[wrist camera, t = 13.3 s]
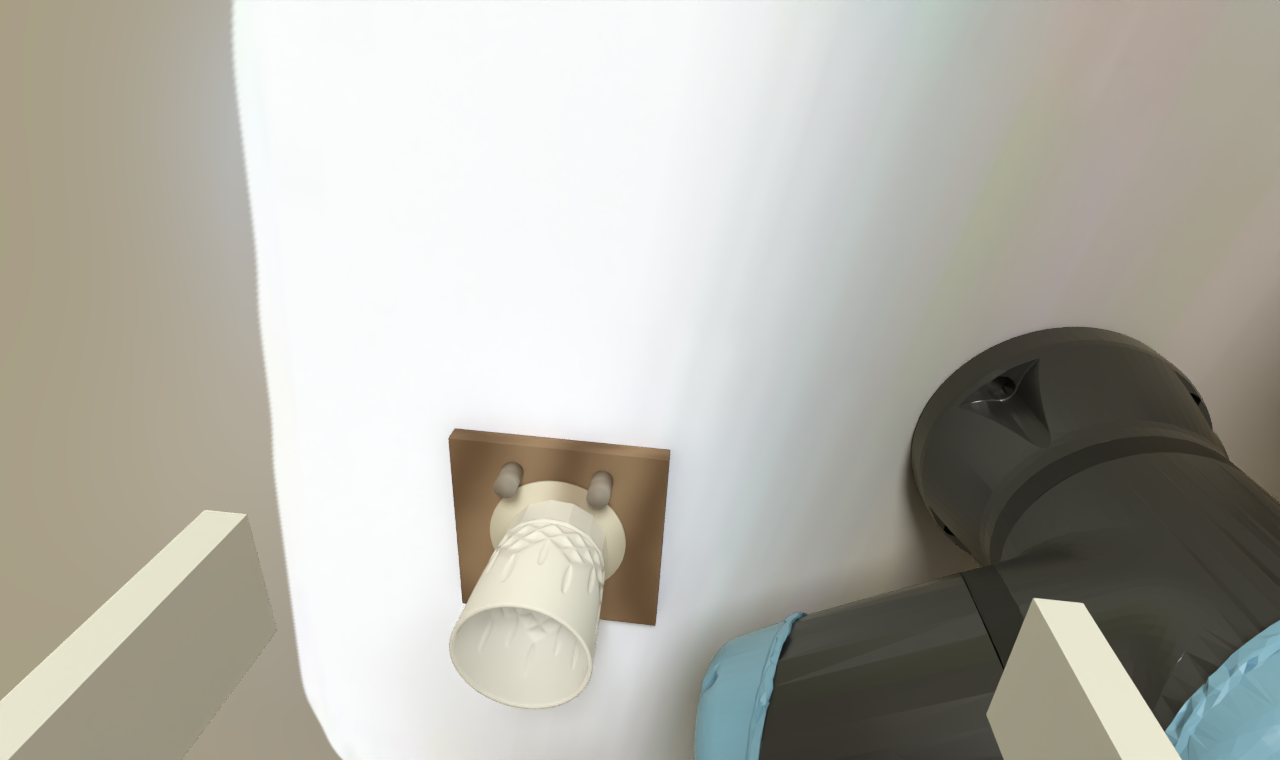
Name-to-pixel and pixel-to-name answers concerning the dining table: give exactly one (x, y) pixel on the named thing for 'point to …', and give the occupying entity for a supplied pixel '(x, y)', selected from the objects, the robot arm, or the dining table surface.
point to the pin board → (574, 473)
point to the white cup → (535, 609)
